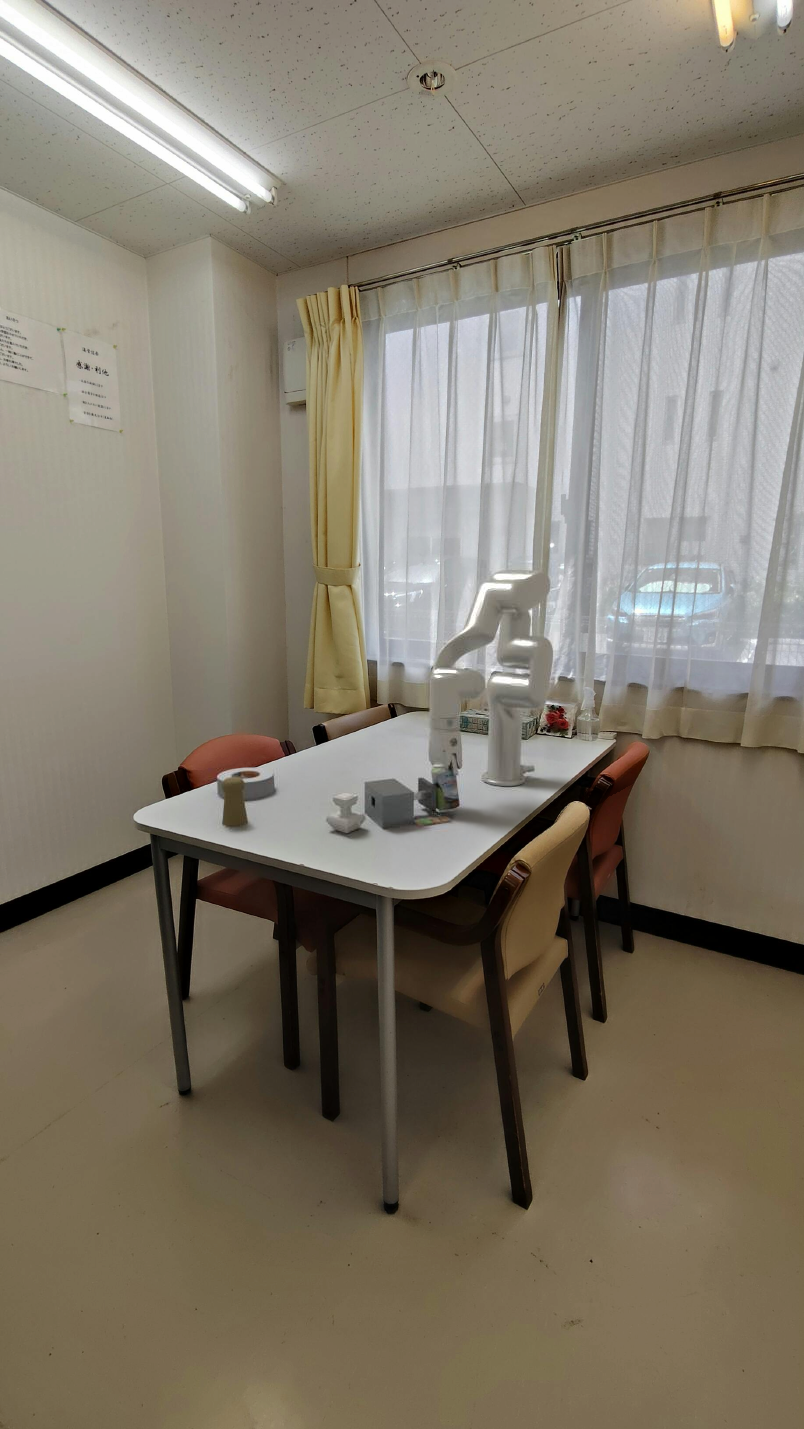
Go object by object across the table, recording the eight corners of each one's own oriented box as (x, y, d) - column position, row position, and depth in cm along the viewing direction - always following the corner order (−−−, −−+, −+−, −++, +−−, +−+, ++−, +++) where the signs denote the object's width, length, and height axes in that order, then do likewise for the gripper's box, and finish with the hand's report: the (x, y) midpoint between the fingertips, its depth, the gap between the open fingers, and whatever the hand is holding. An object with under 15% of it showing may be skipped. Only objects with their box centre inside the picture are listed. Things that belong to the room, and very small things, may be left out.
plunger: (422, 801, 168) (422, 777, 167) (442, 815, 158) (442, 790, 157) (389, 805, 165) (389, 781, 164) (408, 820, 155) (408, 794, 154)
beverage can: (454, 815, 160) (455, 768, 158) (426, 811, 163) (427, 764, 161) (462, 807, 166) (464, 761, 163) (435, 803, 169) (436, 758, 166)
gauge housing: (394, 808, 168) (394, 778, 166) (413, 824, 157) (413, 792, 155) (364, 812, 165) (364, 782, 163) (382, 829, 154) (382, 796, 152)
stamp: (370, 829, 153) (369, 795, 152) (351, 838, 148) (350, 803, 147) (341, 821, 159) (340, 788, 157) (322, 829, 153) (321, 795, 152)
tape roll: (233, 782, 190) (232, 765, 189) (283, 785, 187) (282, 768, 186) (207, 798, 175) (206, 780, 174) (261, 802, 172) (260, 784, 171)
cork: (234, 828, 154) (232, 783, 152) (216, 823, 157) (214, 779, 155) (253, 820, 159) (251, 777, 157) (235, 816, 162) (233, 773, 160)
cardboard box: (445, 817, 161) (445, 815, 161) (450, 821, 159) (450, 819, 159) (413, 822, 158) (413, 820, 158) (419, 826, 155) (419, 824, 155)
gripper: (474, 728, 156) (472, 801, 160) (442, 715, 171) (441, 783, 175) (446, 730, 153) (445, 805, 157) (416, 717, 168) (416, 786, 172)
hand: (443, 793), depth 166 cm, fingers closed on beverage can, 2 cm apart
